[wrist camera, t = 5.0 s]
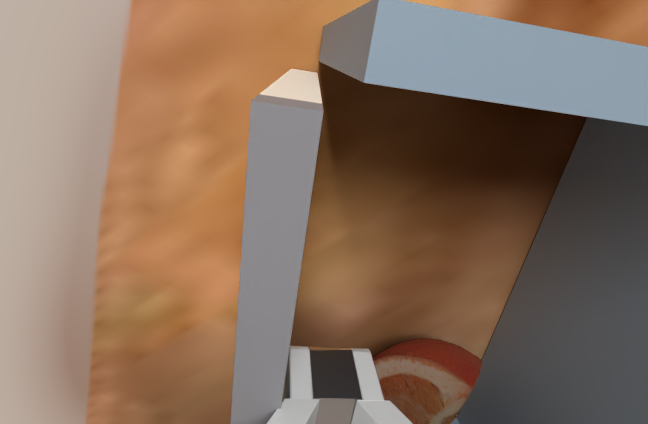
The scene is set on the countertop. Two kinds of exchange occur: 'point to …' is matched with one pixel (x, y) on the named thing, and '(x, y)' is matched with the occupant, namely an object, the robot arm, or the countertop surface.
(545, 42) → the crate
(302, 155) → the white rectangular panel
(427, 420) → the fruit slice
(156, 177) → the countertop surface
